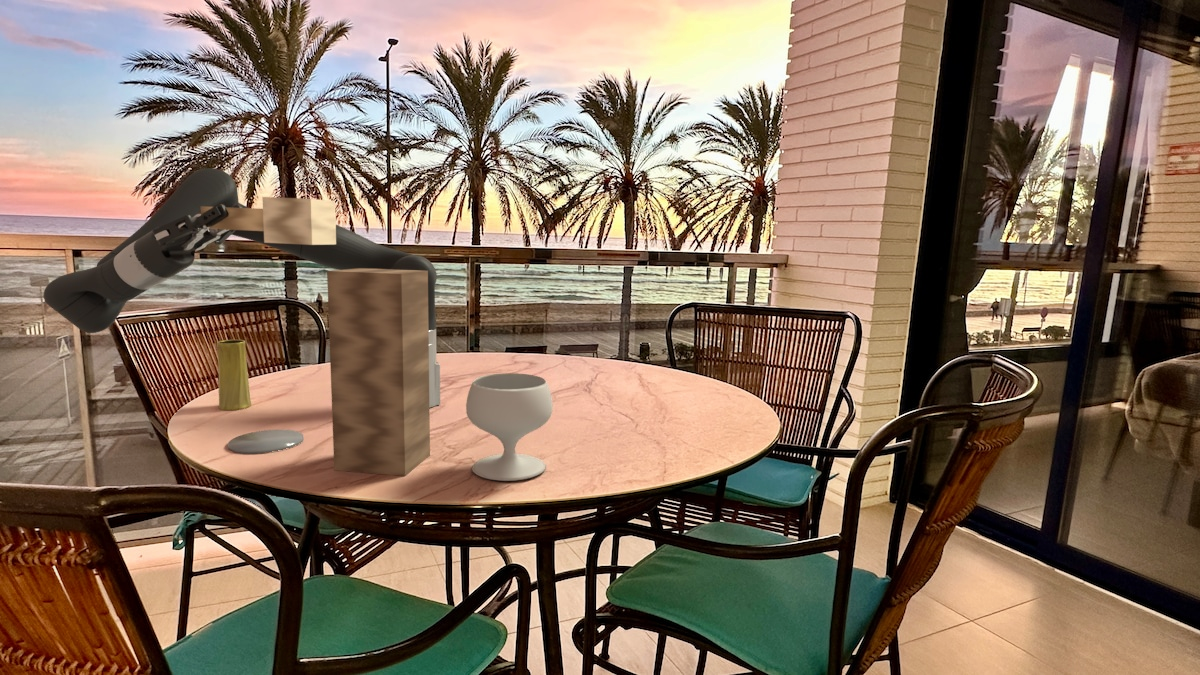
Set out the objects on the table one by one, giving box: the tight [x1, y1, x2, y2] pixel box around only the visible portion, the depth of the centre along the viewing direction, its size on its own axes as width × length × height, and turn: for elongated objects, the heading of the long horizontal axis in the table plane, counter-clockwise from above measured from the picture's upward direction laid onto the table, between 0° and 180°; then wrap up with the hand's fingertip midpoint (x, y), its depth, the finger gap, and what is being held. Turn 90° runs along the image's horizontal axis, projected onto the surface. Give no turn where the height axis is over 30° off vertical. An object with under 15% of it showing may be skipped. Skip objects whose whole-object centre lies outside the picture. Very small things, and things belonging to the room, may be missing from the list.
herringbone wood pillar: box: [326, 268, 431, 477], centre depth 104 cm, size 12×10×32 cm
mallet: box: [201, 196, 337, 245], centre depth 103 cm, size 20×7×7 cm, turn 83°
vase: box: [216, 339, 252, 411], centre depth 136 cm, size 6×6×14 cm
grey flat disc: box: [227, 428, 304, 455], centre depth 115 cm, size 12×12×1 cm
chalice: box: [465, 372, 554, 482], centre depth 104 cm, size 14×14×15 cm
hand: (233, 210), depth 103 cm, fingers closed on mallet, 3 cm apart
